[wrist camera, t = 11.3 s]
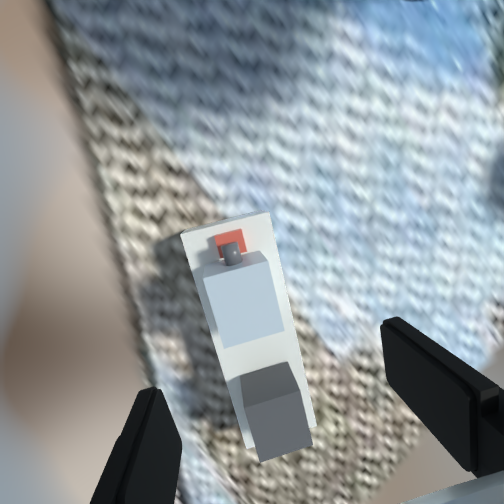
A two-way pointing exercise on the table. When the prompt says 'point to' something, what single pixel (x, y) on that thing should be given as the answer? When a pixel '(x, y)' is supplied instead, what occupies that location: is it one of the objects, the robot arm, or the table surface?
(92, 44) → the table surface
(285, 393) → the dark grey block
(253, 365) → the power strip
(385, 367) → the robot arm
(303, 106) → the table surface
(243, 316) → the grey plug
